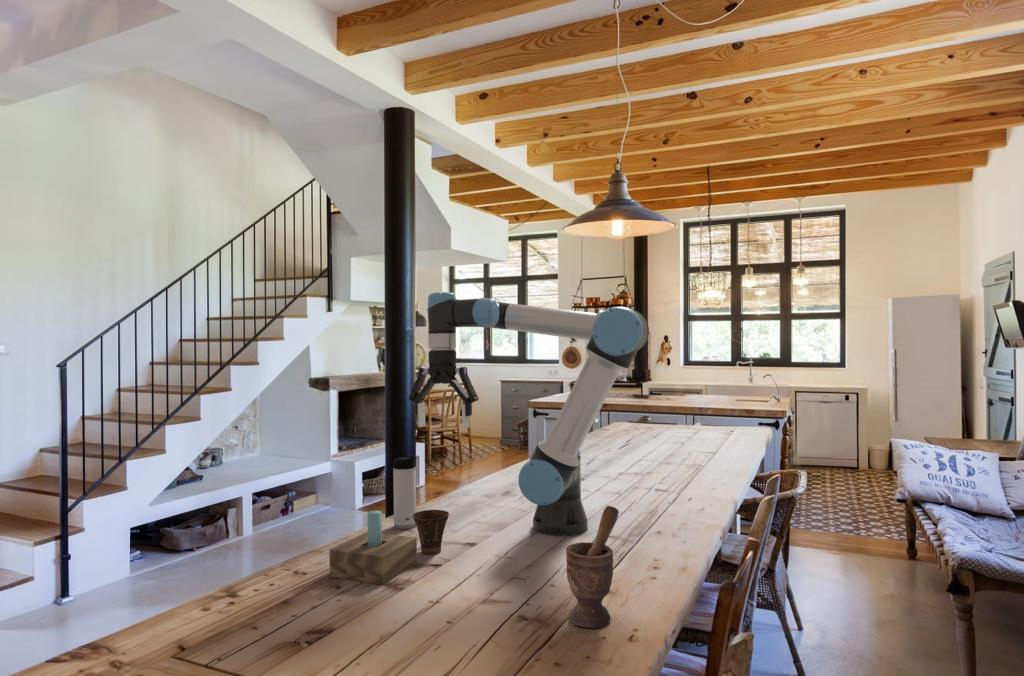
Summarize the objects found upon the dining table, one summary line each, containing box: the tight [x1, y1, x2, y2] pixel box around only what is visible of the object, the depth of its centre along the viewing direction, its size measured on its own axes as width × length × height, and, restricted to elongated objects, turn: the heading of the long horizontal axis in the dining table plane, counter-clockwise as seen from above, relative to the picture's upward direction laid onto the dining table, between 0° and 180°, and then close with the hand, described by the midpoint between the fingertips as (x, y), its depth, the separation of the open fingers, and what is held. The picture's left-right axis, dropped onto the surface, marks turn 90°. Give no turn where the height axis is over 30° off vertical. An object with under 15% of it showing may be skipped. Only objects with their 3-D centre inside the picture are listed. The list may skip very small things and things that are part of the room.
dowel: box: [367, 510, 383, 548], centre depth 143 cm, size 3×3×12 cm
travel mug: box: [392, 454, 418, 530], centre depth 177 cm, size 6×7×20 cm
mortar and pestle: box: [565, 505, 619, 629], centre depth 117 cm, size 12×9×20 cm
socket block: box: [328, 531, 418, 586], centre depth 143 cm, size 14×14×6 cm
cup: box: [413, 509, 450, 555], centre depth 156 cm, size 9×9×10 cm
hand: (443, 427), depth 170 cm, fingers open, 13 cm apart
